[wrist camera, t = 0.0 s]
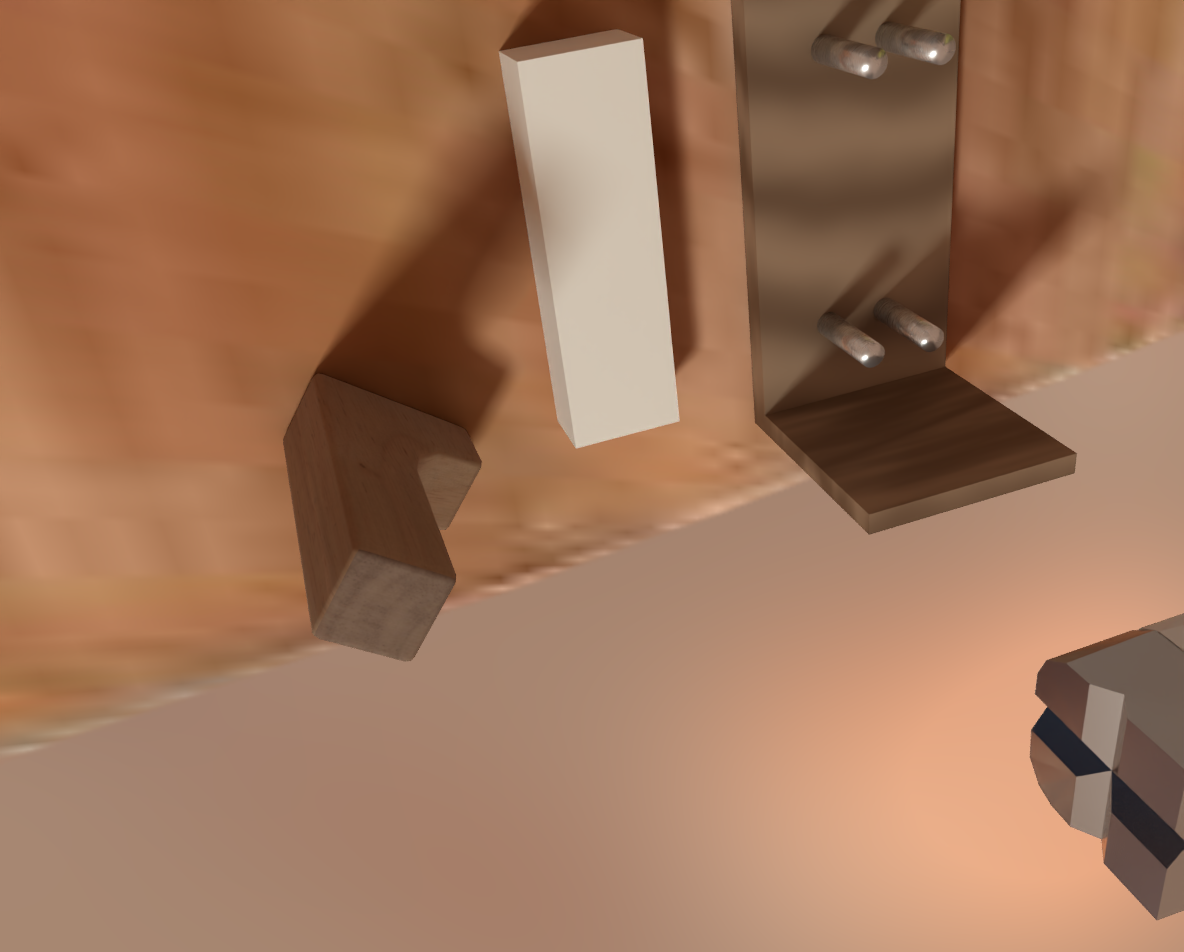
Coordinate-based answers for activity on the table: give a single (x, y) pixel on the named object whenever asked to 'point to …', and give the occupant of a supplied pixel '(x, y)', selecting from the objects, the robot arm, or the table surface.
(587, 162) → the white rectangular block
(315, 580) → the wooden block
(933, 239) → the brown open-topped frame
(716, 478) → the table surface
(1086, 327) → the table surface
